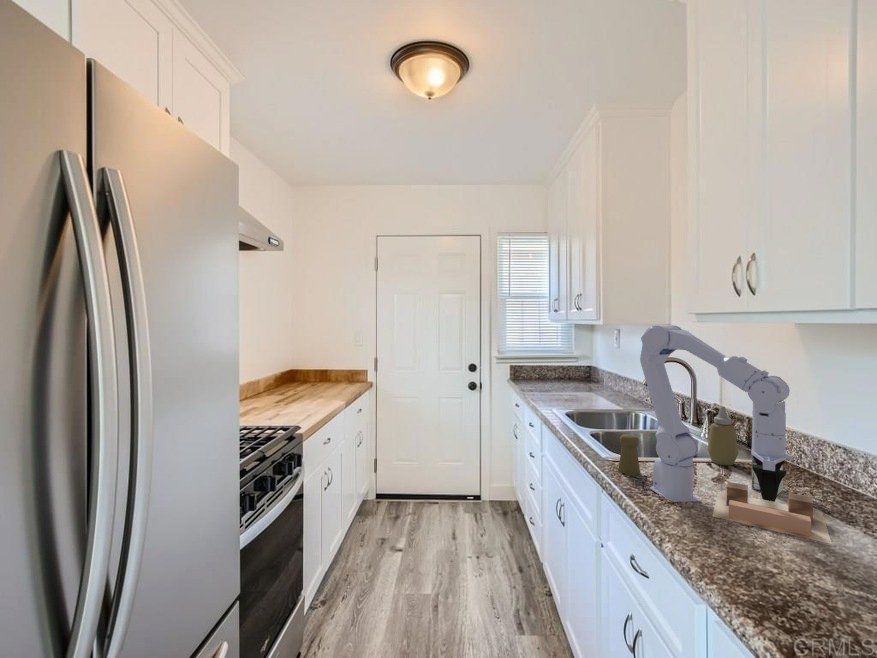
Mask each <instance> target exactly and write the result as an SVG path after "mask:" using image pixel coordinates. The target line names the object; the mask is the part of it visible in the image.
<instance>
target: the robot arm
mask: <svg viewBox="0 0 877 658" xmlns="http://www.w3.org/2000/svg"><path fill="white" fill-rule="evenodd" d="M640 339H641V340H640V341H641V344H642V345H641V351H640V352H641V353H640V356H639V361H640V365H641V368H642V372H643V375H644V378H645V382H646V385H647V386H646V387H647V389H648V392H649V396H650V400H651V403H652V406H653V410H654V414H655V417H656V419H657V420H656V421H657V423H658V428H657V431H656V432H655V439H656V445H655V451H656V454H657V456H658V457H657V459H655V461H654V463H653V465H652V466H653V467H652V470H653V471H652V472H653V475H652V477H653V479H652V482H653V483H652V486H650V487H649V489H650V490H651V491H653V492H655V493H656V494H657V495H661V496H662V497H664V498H665V499H667V500H668V501H669V502H672V503H673V502H675V503H677V502H697V501H699V502H700V501H702V499H701V498H699V497H697V496H696V495H694V457H695V456H696V455H697V454H698V452H699V445H698V442H697V441H696V438H695V437H694V436H693V435H692V433H691V431H690V429H689V427H688V426H686V424H684V423H683V422H682V421H683V420H682V418H681V414H680V411H679V408H678V405H677V402H676V398H675V395H674V392H673V389H672V385H671V381H670V378H669V375H668V372H667V369H666V366H665V363H666V361H667V359H668V358H669V357H670V355H671V354H673V353H674V352H675V351H677V350H678V351H679V350H680V351H686V352H688V353H690V354H692V355H694V356H696V357H697V358H699V359H701V360H703V361H705V362H706V363H708V365H709V364H710V365H711V366H713V367H715V368H716V369H717V374H718V376H719V377H721V378H722V379H724V380H726V381H727V382H729V383H730V384H732V385H733V386H735V387H737V388H738V389H740V390H741V391H743V392H745V393H747V395H748V397H749V399H750V400H751V401H752V411H751V412H752V421H751V422H752V423H751V424H752V425H751V426H752V431H751V432H752V433H751V434H752V436H751V450H750V451H751V452H750V453H751V456H752V455H753V458H754V460H755V462H756V464H757V465H756V464H752V463H751V470H752V469H753V471H754V473H755V474H756V476H757V479H758V482H759V487H760V491H759V492H760V496H761V500H765V501H770V502H775V503H776V500H777V497H778V495H777V493H778V489H779V485H780V483H781V481H782V480H783V479H784V478H785V477H786V475H787V470H784V469H783V470H780V468H781V466H782V465H784V463H785V460H788V461H789V460H790V461H792V460H793V459H794V458H793V455H792V454H789V453H786V445H787V443H786V439H787V438H786V434H787V433H786V432H787V429H786V428H787V427H786V425H787V424H786V421H787V420H786V419H787V417H786V415H787V413H786V401H785V400H786V399H787V398H789V395H790V392H791V391H790V387H789V384H788V383H787V382H786V381H784V380H783V378H781V376H776V375H769V374H770V373H769V371H767V370H765V369H763V370H761V369H759V368H758V367H756V366H755V365H752V364H751V363H748V359H747V358H746V357H745V356H739V357H738V356H737V355H731V356H727V355H725V354H723V353H722V352H720V351H718V350H717V349H715V348H714V347H712V346H711V345H709V344H708V343H707V342H704V341H703V340H702V339H700V338H698V337H697V336H695V335H694V334H692V333H691V332H689V330H685V329H682V328H681V327H680V326H678V325H673V324H672V325H652V326H650V327H648V328H647V329H646V330H645V332H644V333H643V335H642V336H641V337H640Z"/></svg>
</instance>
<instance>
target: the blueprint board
mask: <svg viewBox="0 0 877 658" xmlns="http://www.w3.org/2000/svg"><path fill="white" fill-rule="evenodd" d="M748 491H749V485H747V484H743V483H737V482H733V481H732V482H731V481H727V485H726V492H724V491H718V493H717V497H716V500H715V504H714V508H713V512H712V517H713V518H716V519H717V518H718V519H722V520H725V521H726V520H727V521H730V522H736V523H738V524H739V523H740V524H743V525H748V526H752V527H757V528H760V529H761V528H762V529H764V530H770V531H773V532H777V533H782V534H786V535H789V536H793V537H800V538H803V539H808V540H812V541H815V542H816V541H817V542H821V543H825V544H829V545H832V544H833V543H832V540H831V537H830V534H829V530H828V527H827V524H826V521H825V517H824V514H823V511H818V510H814V501H813V499H812V497H810V496H807V495H801V494H797V493H792V492H791V493H790V492H789V493H788V495H787V496H788V502H787V503H788V504H785V503H780V502H776V501H775V502H772V501H767V500H763V499H759V498H754V497H749V495H748V494H749V492H748ZM730 500H733V501H738V502H742V503H747V504H752V505H757V506H762V507H766V508H771V509H776V510H781V511H786V512H790V513H795V514H800V515H805V516H810V519H811V536H807V535H803V534H799V533H794V532H790V531H786V530H781V529H777V528H773V527H768V526H764V525H759V524H755V523H751V522H746V521H742V520H738V519H733V518H729V501H730Z"/></svg>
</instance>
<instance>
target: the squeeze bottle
mask: <svg viewBox="0 0 877 658" xmlns="http://www.w3.org/2000/svg"><path fill="white" fill-rule="evenodd" d="M732 421H733V420H732V418H730V417H728V414H727V409H726V407H725V406H723V405H722V406H720V407H719V410H718V414H717V416H714V417H713V423H711V424H710V426H709V435H708V443H707V451H708V456H709V458H710V460H711V462H712V463H714V464H717V465H720V466H734V464H735V462H736V460H737V458H738V455H739V450H738V440H737V431H736V427H735V426H734V425H732V424H733V423H732Z"/></svg>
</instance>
